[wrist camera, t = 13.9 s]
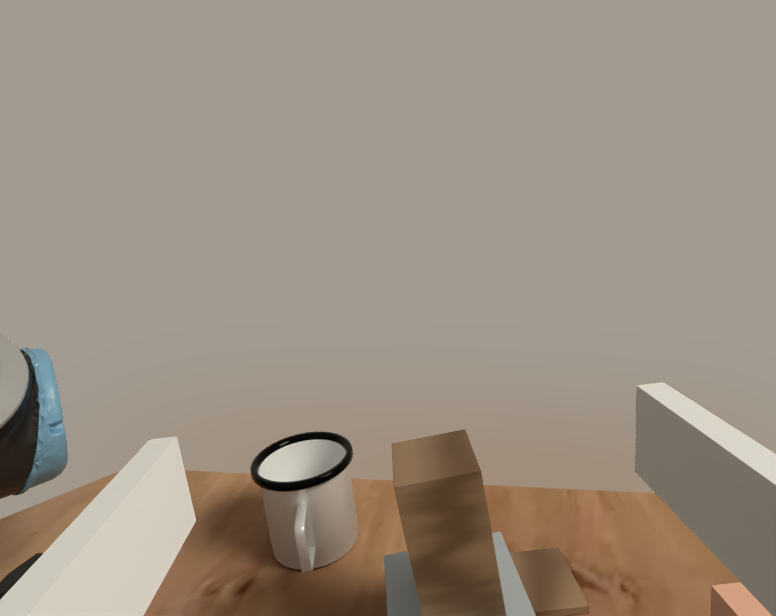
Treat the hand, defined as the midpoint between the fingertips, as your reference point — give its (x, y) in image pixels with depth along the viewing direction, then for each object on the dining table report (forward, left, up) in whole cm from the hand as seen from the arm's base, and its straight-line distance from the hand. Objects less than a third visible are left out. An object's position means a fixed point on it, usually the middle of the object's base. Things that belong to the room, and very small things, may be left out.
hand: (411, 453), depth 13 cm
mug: (-28, 0, -24) cm, 37 cm away
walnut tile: (-15, +15, -24) cm, 32 cm away
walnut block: (-13, +7, -18) cm, 23 cm away
